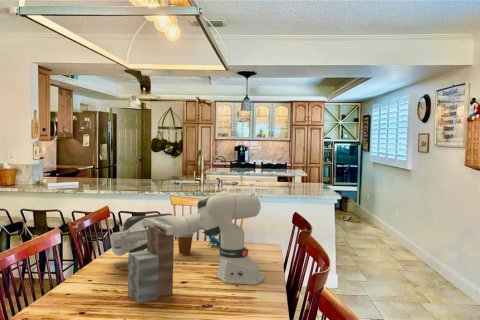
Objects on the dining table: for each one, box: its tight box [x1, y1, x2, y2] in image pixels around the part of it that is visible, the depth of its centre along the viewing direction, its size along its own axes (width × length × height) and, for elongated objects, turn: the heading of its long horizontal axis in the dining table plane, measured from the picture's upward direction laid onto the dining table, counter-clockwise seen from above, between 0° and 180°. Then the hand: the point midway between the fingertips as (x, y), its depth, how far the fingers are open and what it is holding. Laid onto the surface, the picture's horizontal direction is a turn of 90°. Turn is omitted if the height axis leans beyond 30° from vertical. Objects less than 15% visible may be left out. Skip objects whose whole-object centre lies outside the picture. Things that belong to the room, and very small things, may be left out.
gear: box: [207, 236, 221, 249], centre depth 223 cm, size 11×6×10 cm
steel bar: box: [144, 218, 174, 235], centre depth 153 cm, size 22×3×3 cm, turn 38°
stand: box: [127, 225, 175, 305], centre depth 149 cm, size 11×14×28 cm
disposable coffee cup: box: [177, 233, 195, 255], centre depth 210 cm, size 10×10×12 cm
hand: (138, 230), depth 169 cm, fingers open, 8 cm apart
